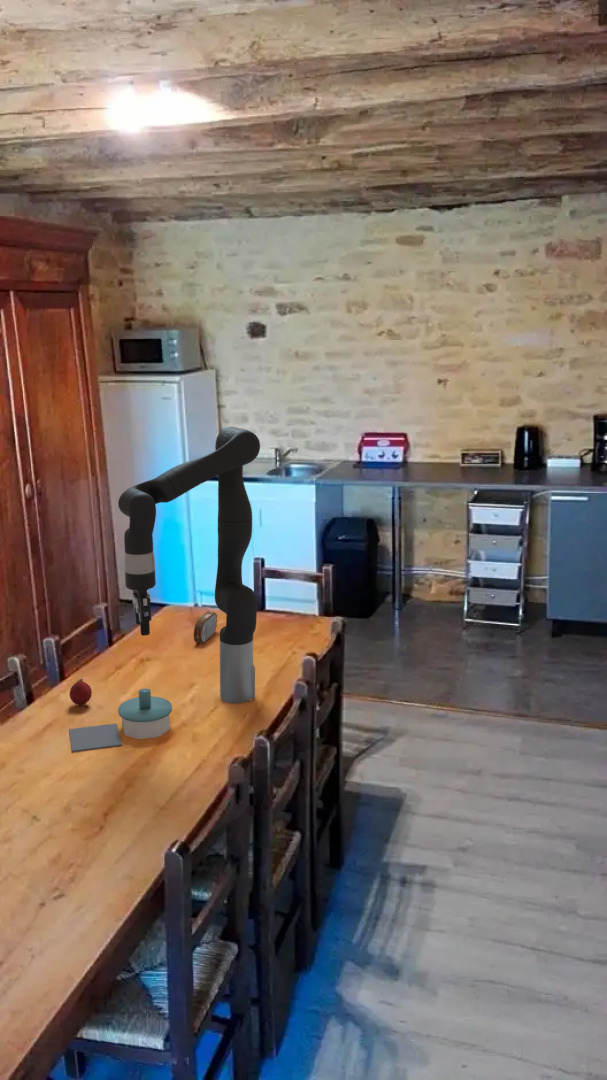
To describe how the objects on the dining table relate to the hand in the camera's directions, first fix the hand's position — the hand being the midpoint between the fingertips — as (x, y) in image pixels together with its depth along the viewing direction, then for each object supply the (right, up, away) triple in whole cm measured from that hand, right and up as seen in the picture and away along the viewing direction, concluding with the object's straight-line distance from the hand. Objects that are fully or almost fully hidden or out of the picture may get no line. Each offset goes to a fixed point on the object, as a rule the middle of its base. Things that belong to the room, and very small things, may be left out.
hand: (142, 629), depth 226 cm
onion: (-19, -23, +15) cm, 33 cm away
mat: (-11, -27, -3) cm, 30 cm away
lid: (0, -21, +1) cm, 21 cm away
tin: (+9, -10, +65) cm, 67 cm away
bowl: (0, -26, +3) cm, 26 cm away
